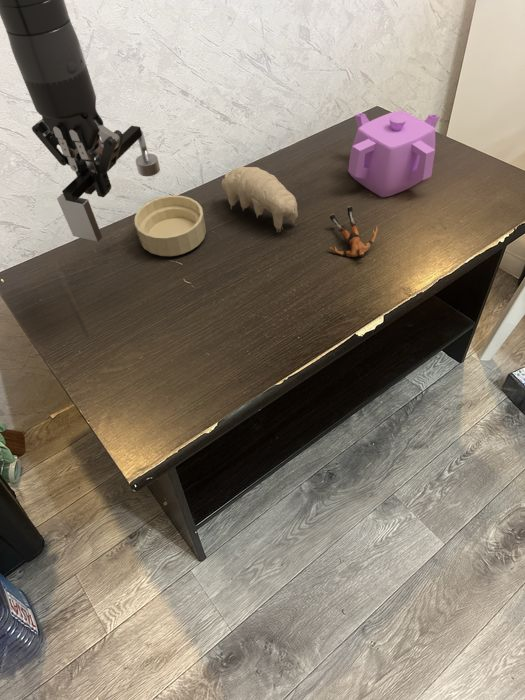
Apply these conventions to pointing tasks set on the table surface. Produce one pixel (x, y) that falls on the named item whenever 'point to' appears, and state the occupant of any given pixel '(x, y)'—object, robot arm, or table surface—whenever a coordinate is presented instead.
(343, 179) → the table surface
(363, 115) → the teakettle
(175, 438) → the table surface
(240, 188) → the model
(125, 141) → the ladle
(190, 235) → the bowl
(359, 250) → the figurine
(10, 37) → the robot arm
